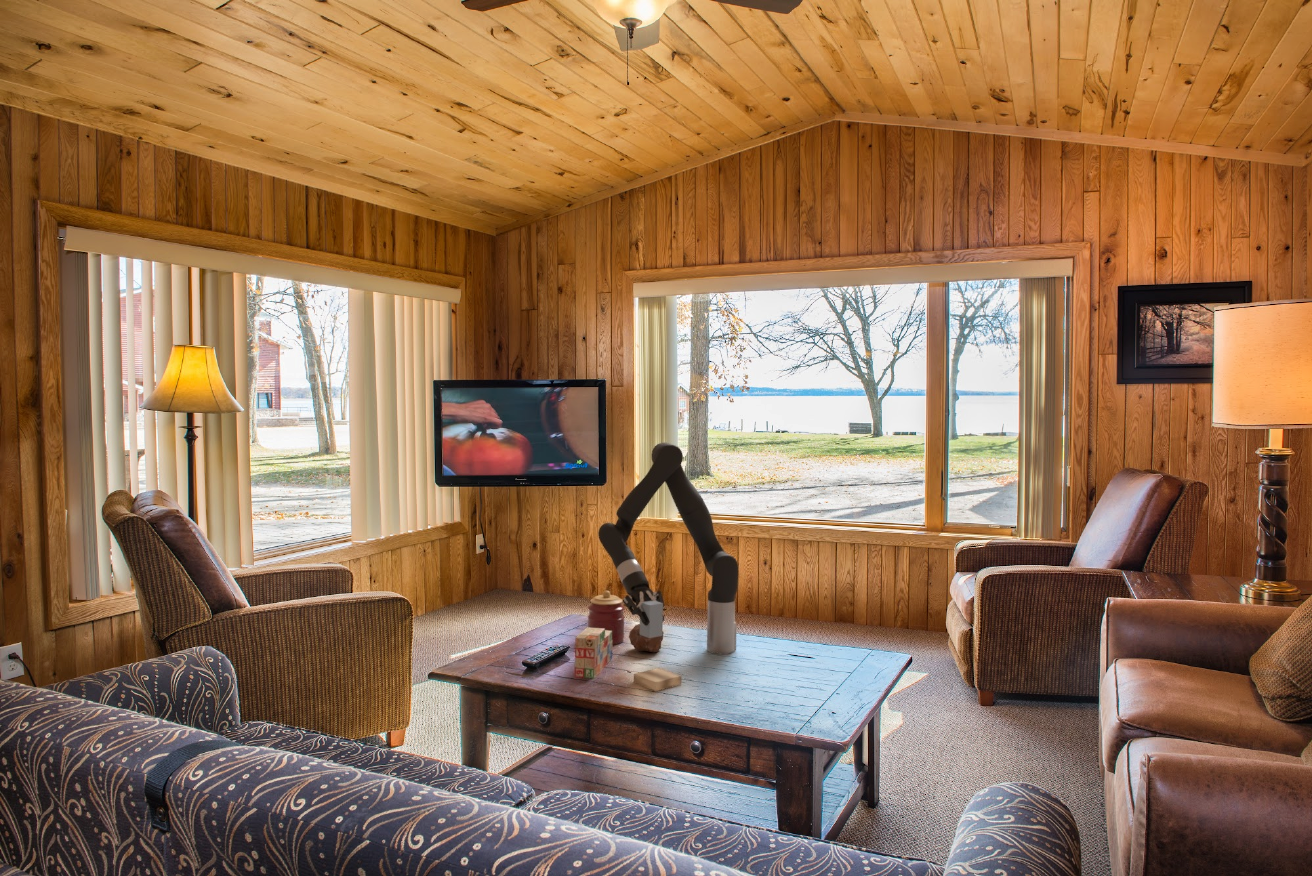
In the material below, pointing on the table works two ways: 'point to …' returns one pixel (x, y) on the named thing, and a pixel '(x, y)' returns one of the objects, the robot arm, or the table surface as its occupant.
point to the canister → (607, 615)
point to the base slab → (657, 679)
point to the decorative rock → (644, 641)
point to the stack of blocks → (592, 652)
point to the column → (652, 619)
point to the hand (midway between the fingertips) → (654, 622)
